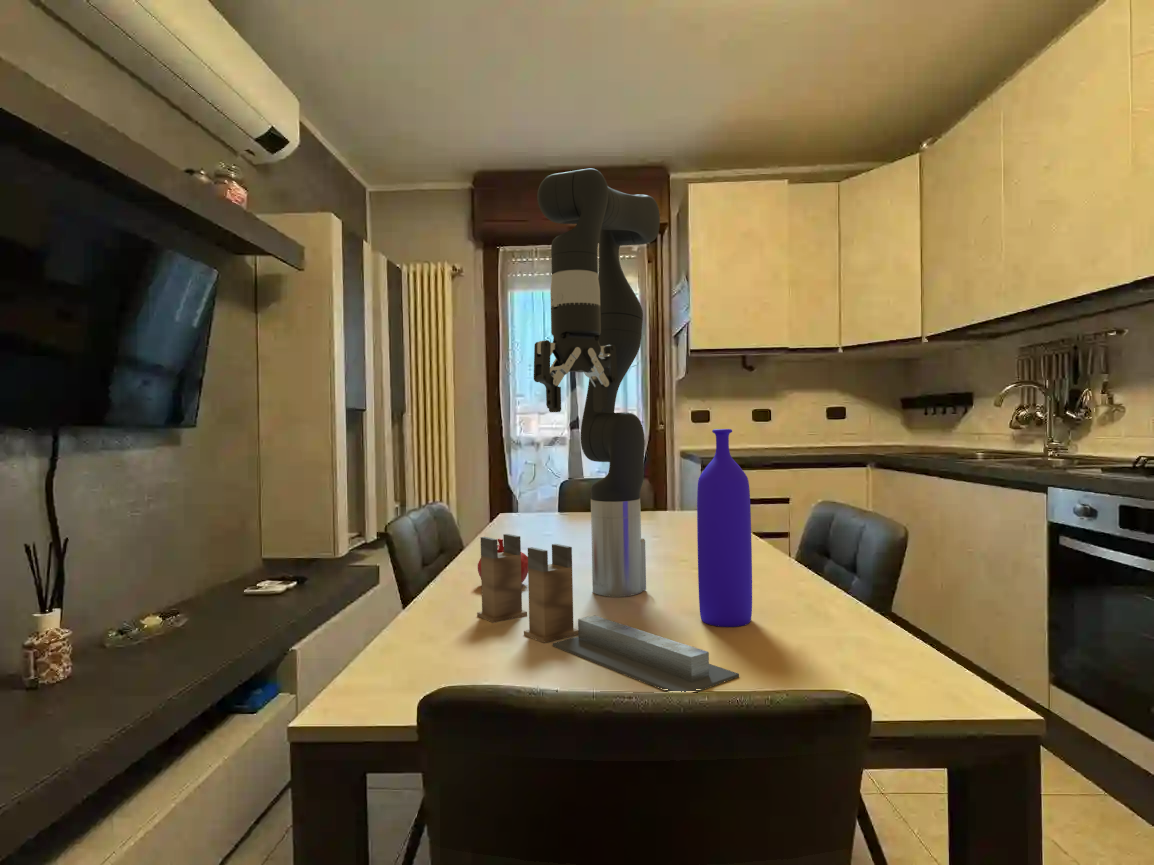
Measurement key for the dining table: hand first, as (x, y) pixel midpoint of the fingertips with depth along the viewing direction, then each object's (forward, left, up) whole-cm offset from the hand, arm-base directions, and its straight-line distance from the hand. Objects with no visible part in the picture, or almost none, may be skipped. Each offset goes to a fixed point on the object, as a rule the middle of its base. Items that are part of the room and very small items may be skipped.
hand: (577, 411), depth 107 cm
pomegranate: (-7, -34, -33) cm, 48 cm away
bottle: (-20, +11, -33) cm, 40 cm away
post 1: (+5, -15, -33) cm, 37 cm away
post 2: (+5, -1, -33) cm, 33 cm away
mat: (+3, +16, -33) cm, 37 cm away
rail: (+3, +16, -33) cm, 36 cm away
